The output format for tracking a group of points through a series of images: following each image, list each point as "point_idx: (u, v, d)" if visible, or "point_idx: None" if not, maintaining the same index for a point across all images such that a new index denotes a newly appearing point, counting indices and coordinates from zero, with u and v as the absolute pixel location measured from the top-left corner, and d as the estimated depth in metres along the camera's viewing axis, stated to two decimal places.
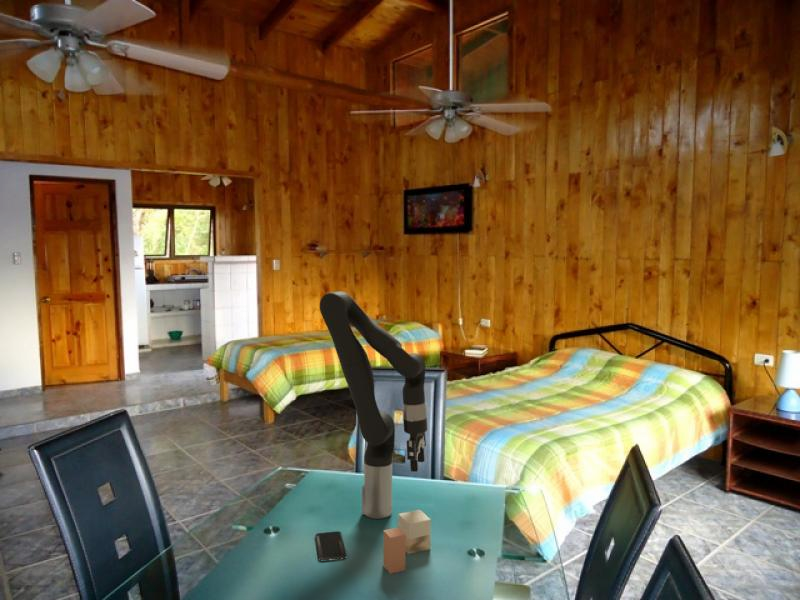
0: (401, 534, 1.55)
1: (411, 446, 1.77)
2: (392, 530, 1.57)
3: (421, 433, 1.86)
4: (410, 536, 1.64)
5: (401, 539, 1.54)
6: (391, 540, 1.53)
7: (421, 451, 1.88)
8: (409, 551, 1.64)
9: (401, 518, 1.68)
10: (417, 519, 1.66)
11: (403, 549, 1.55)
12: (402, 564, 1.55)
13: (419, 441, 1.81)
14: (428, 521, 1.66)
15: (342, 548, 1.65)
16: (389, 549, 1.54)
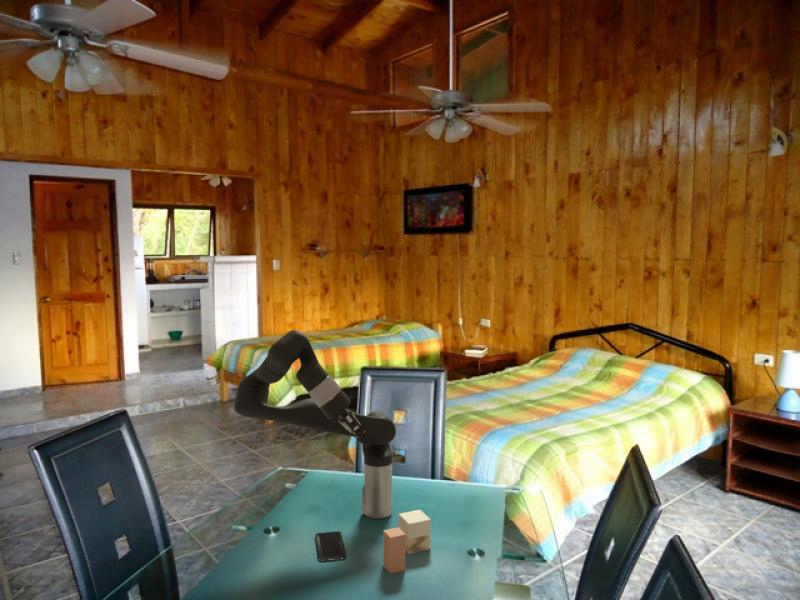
0: (401, 534, 1.55)
1: (351, 420, 1.46)
2: (392, 530, 1.57)
3: None
4: (410, 536, 1.64)
5: (401, 539, 1.54)
6: (391, 540, 1.53)
7: (356, 430, 1.57)
8: (409, 551, 1.64)
9: (401, 518, 1.68)
10: (417, 519, 1.66)
11: (403, 549, 1.55)
12: (402, 564, 1.55)
13: (352, 414, 1.51)
14: (428, 521, 1.66)
15: (342, 548, 1.65)
16: (389, 549, 1.54)
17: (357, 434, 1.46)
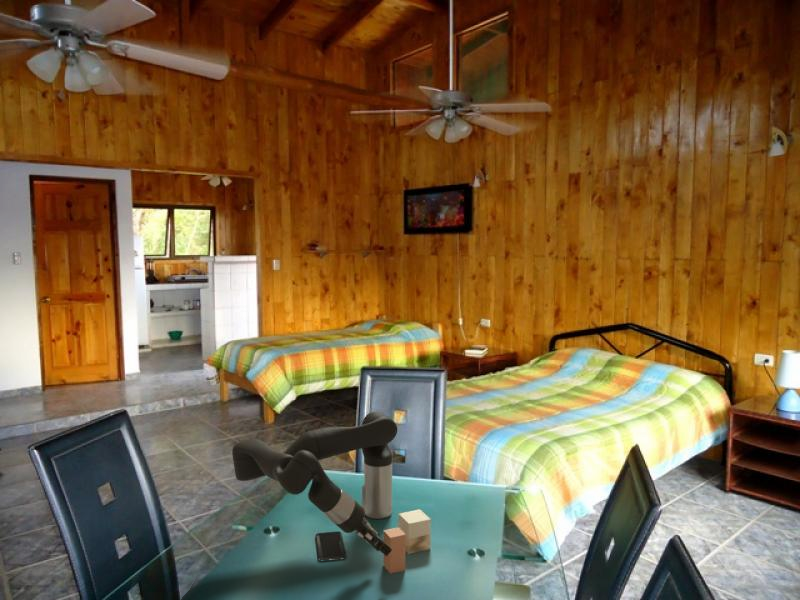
0: (401, 534, 1.55)
1: (372, 537, 1.45)
2: (392, 530, 1.57)
3: None
4: (410, 536, 1.64)
5: (401, 539, 1.54)
6: (391, 540, 1.53)
7: None
8: (409, 551, 1.64)
9: (401, 518, 1.68)
10: (417, 519, 1.66)
11: (403, 549, 1.55)
12: (402, 564, 1.55)
13: (368, 524, 1.49)
14: (428, 521, 1.66)
15: (342, 548, 1.65)
16: None
17: (378, 549, 1.45)
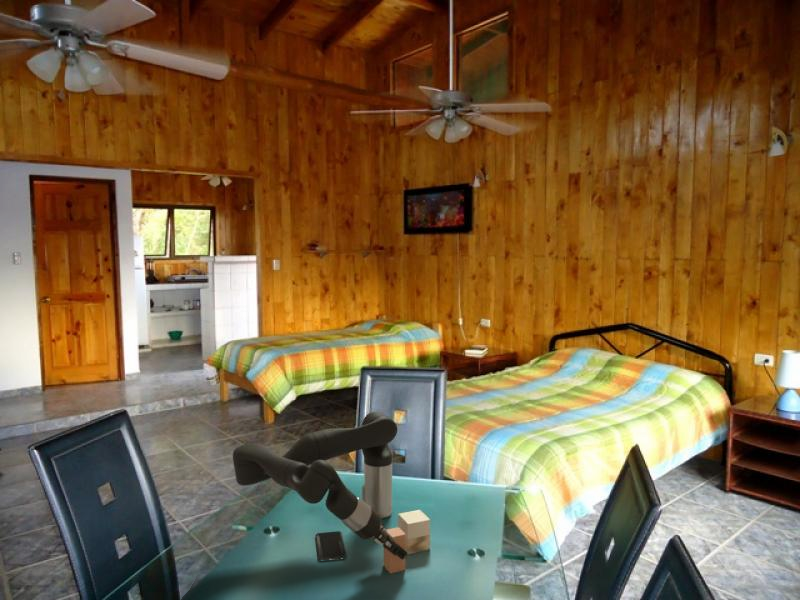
0: (401, 534, 1.55)
1: (391, 545, 1.49)
2: (392, 530, 1.57)
3: None
4: (409, 536, 1.64)
5: (401, 539, 1.54)
6: None
7: None
8: (409, 551, 1.64)
9: (400, 518, 1.68)
10: (417, 519, 1.66)
11: None
12: (402, 564, 1.55)
13: (385, 531, 1.52)
14: (427, 521, 1.66)
15: (342, 548, 1.65)
16: None
17: (395, 553, 1.50)
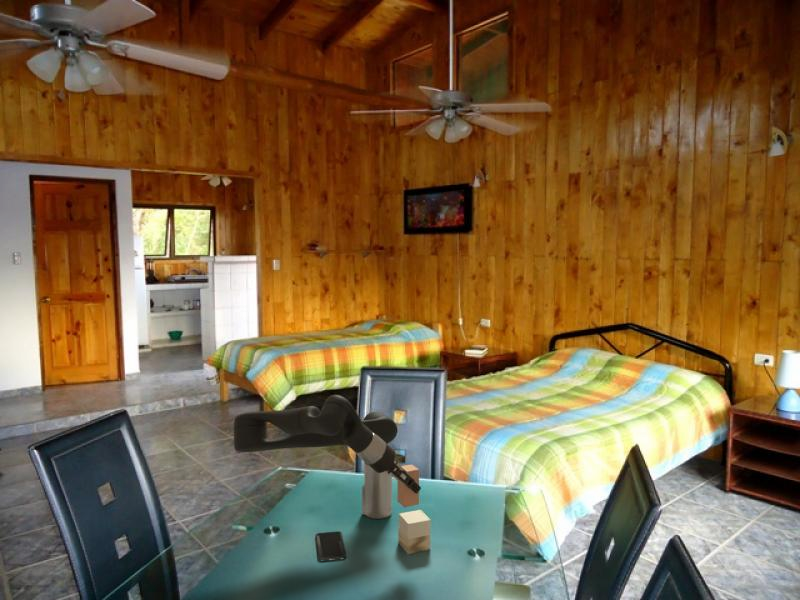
0: (414, 469, 1.60)
1: (406, 477, 1.54)
2: (406, 466, 1.62)
3: None
4: (409, 536, 1.64)
5: (414, 474, 1.59)
6: None
7: None
8: (409, 551, 1.64)
9: (401, 518, 1.68)
10: (417, 519, 1.66)
11: None
12: (416, 498, 1.60)
13: (399, 465, 1.57)
14: (428, 521, 1.66)
15: (342, 548, 1.65)
16: (403, 483, 1.59)
17: (409, 486, 1.55)
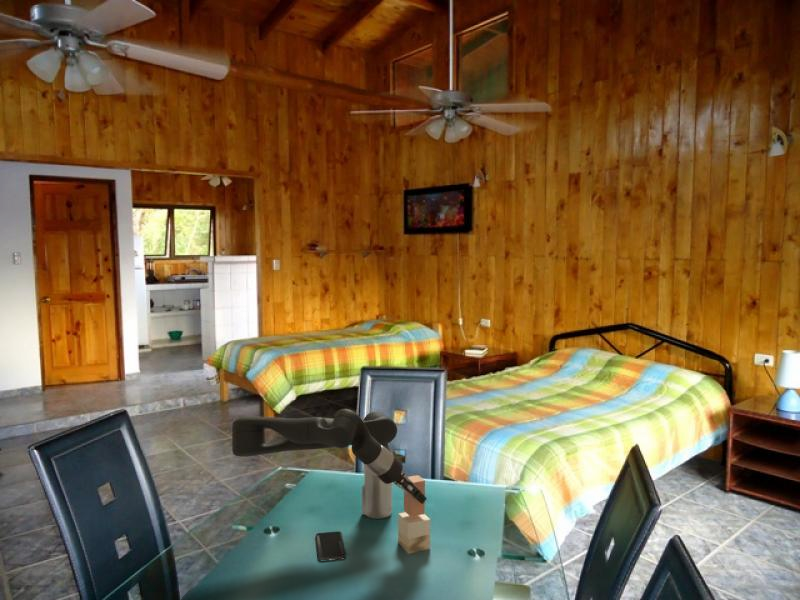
0: (421, 480, 1.66)
1: (412, 488, 1.60)
2: (412, 477, 1.68)
3: None
4: (409, 536, 1.64)
5: (421, 485, 1.65)
6: None
7: None
8: (409, 551, 1.64)
9: (401, 517, 1.68)
10: (417, 519, 1.66)
11: (423, 494, 1.66)
12: (422, 508, 1.66)
13: (406, 477, 1.63)
14: (428, 521, 1.66)
15: (342, 548, 1.65)
16: (410, 494, 1.65)
17: (415, 497, 1.61)
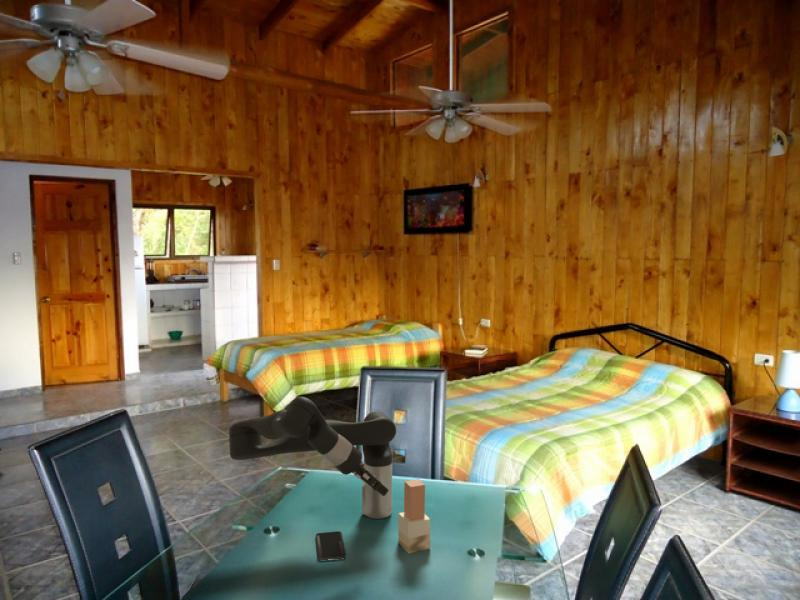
0: (421, 484, 1.66)
1: (369, 477, 1.53)
2: (412, 481, 1.68)
3: None
4: (409, 535, 1.64)
5: (421, 489, 1.66)
6: (411, 490, 1.65)
7: None
8: (409, 551, 1.64)
9: (401, 517, 1.68)
10: None
11: (422, 498, 1.66)
12: (422, 512, 1.66)
13: (365, 467, 1.57)
14: (427, 521, 1.66)
15: (342, 548, 1.65)
16: (410, 498, 1.65)
17: (375, 488, 1.53)
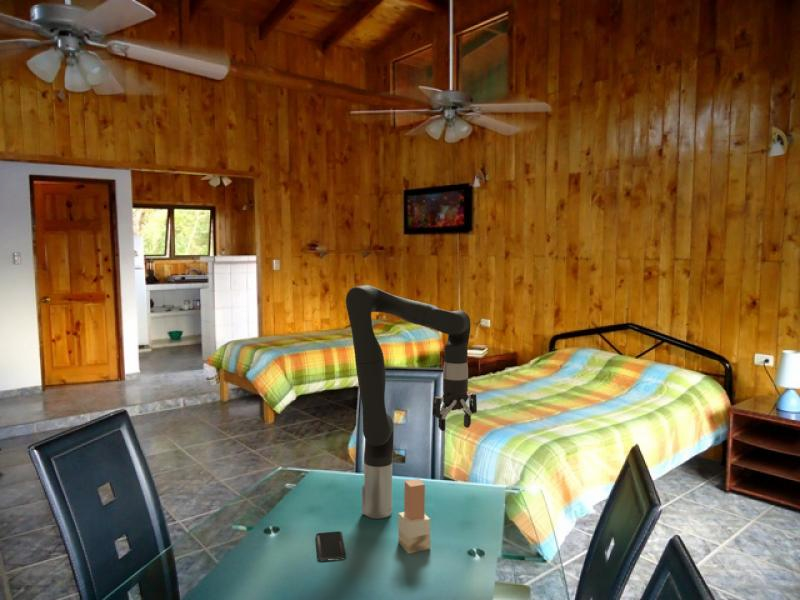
0: (420, 484, 1.66)
1: None
2: (412, 481, 1.68)
3: None
4: (409, 535, 1.64)
5: (420, 489, 1.66)
6: (411, 489, 1.65)
7: None
8: (409, 550, 1.64)
9: (401, 517, 1.68)
10: None
11: (422, 498, 1.66)
12: (421, 512, 1.66)
13: None
14: (427, 520, 1.66)
15: (342, 548, 1.65)
16: (409, 497, 1.65)
17: None
